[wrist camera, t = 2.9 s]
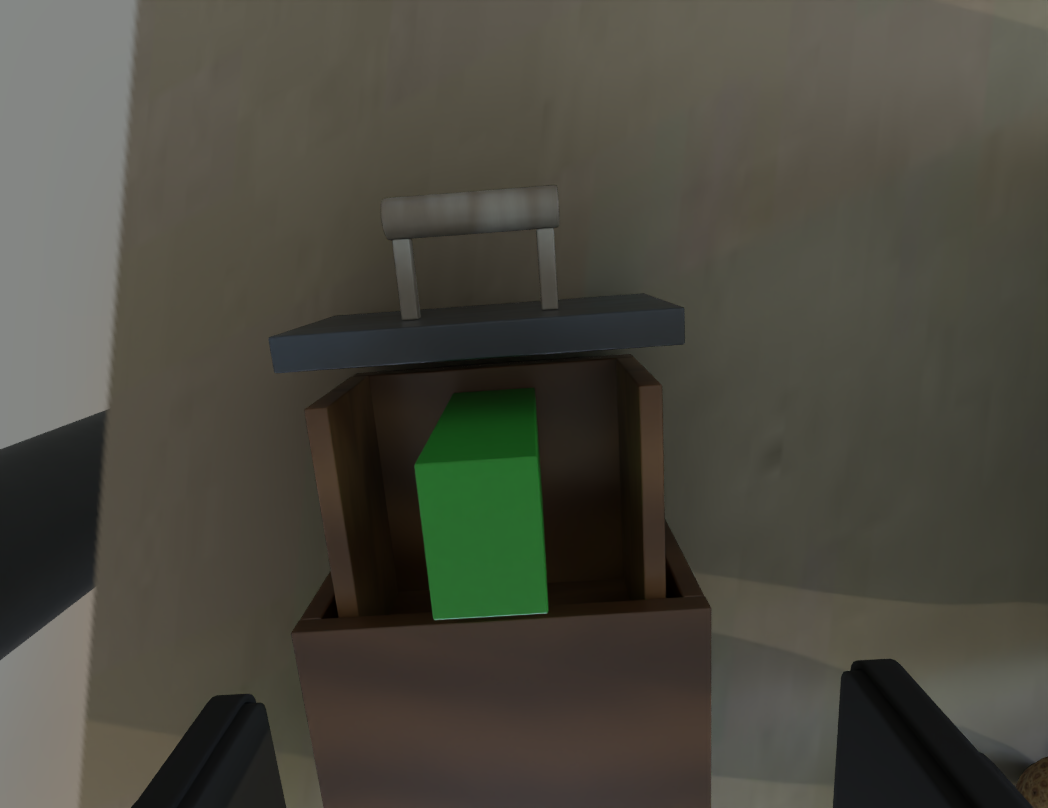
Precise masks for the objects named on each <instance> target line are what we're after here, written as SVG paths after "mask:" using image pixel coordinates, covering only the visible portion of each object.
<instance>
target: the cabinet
mask: <svg viewBox="0 0 1048 808" xmlns="http://www.w3.org/2000/svg"><path fill="white" fill-rule="evenodd" d="M665 562H666V598H663V599H647V600H630V601H613V602H597V603H580V604H563V605H548V609H549V611H548V613H545V614H528V615H511V616H494V617H478V618H461V619H444V620H434V619H433V615H432V612H429V613H413V614H396V615H379V616H362V617H346V618H339V617H338V611H337V605H336V599H335V593H334V587H333V581H332V575H331V571H330V573H329V574H328V576H327V577H326V579H325V581H324V582H323V584H322V586H321V587H320V589H319V590H318V592H317V594H316V595H315V597H314V598H313V600H312V602H311V603H310V605H309V606H308V608H307V610H306V611H305V613H304V614H303V616H302V618H301V620H299V621H298V623H297V625H296V626H295V628H294V629H293V631H292V633H291V636H292V641H293V646H294V652H295V657H296V662H297V668H298V673H299V678H300V684H301V689H302V694H303V700H304V705H305V710H306V716H307V721H308V726H309V732H310V737H311V742H312V747H313V753H314V758H315V763H316V769H317V774H318V779H319V785H320V790H321V795H322V801H323V806H324V808H711V607H710V605H709V603H708V601H707V599H706V597H705V596H704V594H703V592H702V590H701V588H700V587H699V585H698V583H697V581H696V579H695V577H694V575H693V573H692V571H691V569H690V567H689V565H688V563H687V561H686V559H685V557H684V555H683V553H682V551H681V549H680V547H679V545H678V543H677V541H676V539H675V537H674V535H673V534H672V532H671V530H670V528H669V526H668V524H667V522H666V520H665Z"/></svg>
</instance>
